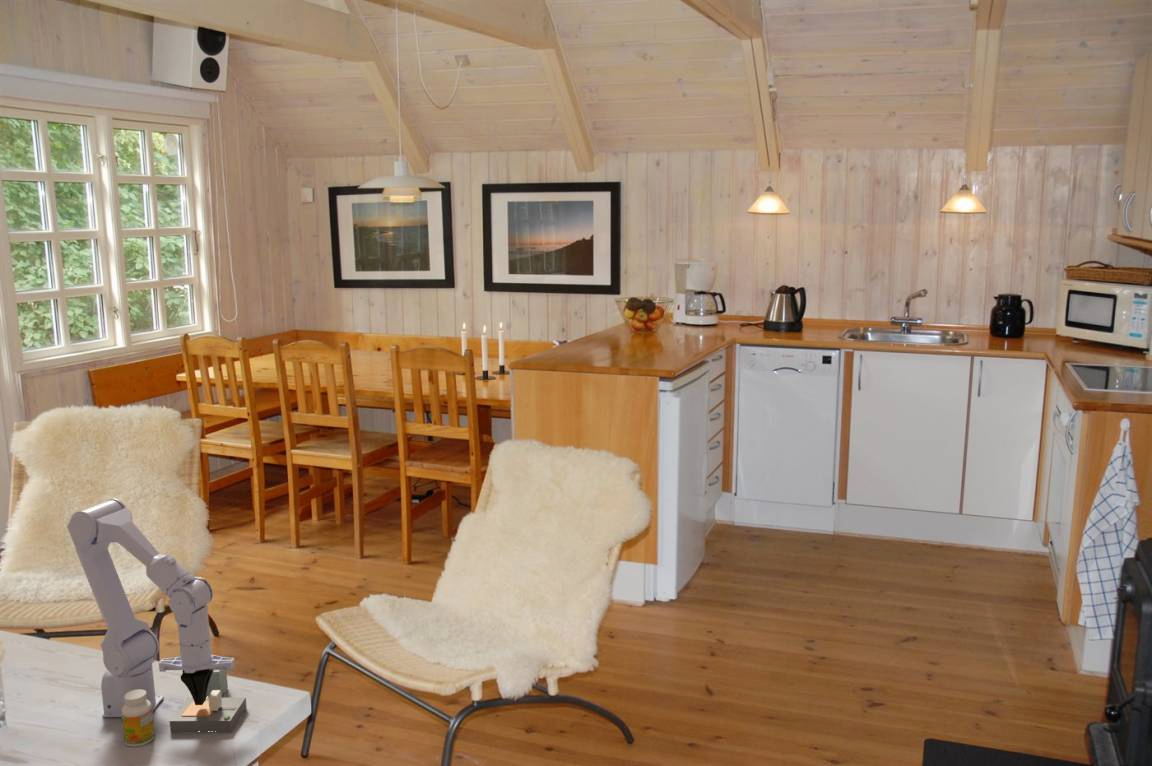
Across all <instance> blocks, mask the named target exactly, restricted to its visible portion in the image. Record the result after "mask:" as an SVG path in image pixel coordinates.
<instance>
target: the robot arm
mask: <svg viewBox="0 0 1152 766" xmlns="http://www.w3.org/2000/svg"><path fill="white" fill-rule="evenodd" d="M66 529H67V530H68V533H69V534H70V538H71V540H72V543H73V545H74V548H75V552H76V554H77V557H78V560H79V561H80V564H81V567H82V569H83V572H84V574H85V576H86V579H87V582H88V584H89V586H90V589H91V592H92V593H93V596H94V599H95V602H96V604H97V607H98V610H99V611H100V614H101V616H102V619H103V622H104V624H105V626H106V629H107V630H106V633H105V634H104V636H103V638H102V641H100V642H101V643H100V648H101V650H102V660H103V661H102V662H103V664H104V667H105V669H106V670H105V671H104V673H103V675H102V679H101V683H100V685H101V686H100V689H101V697H102V698H101V699H102V707H103V713H102V714H101V717H102V718H122V708H123V706H124V705H125V702H124V696H125V694H126V693H128V692H130V691H132V690H137V689H143V690H145V691H146V693H147V700H149V701H150V702H151V704H152V712H154V710H155V709H156V708H157V707H158V705H159V704H160V703H161V702H162V701H163V699H164V695H156V690H155V689H156V688H155V680H154V670H153V663H155V656H157V655H158V653H159V651H160V642H159V639H158V637H157V636H156V634H155V633H154V632H153V631H152V630H151V627H150V626H149V623H148V622H147V621H144V620H141V619H137V618H136V616H135V615H134V612H133V610H132V606H131V605H130V602H129V599H128V597H127V595H126V592H125V590H124V587H123V585H122V581H121V579H120V577H119V574H118V572H117V569H116V567H115V564H114V562H113V559H112V557H111V554H110V551H109V547H110V544H112V543H118V544H119V545H120V546H122V548H124V550H126V551H127V552H128V553H130V554H131V555H132V556H133V557H134V558H136V559H137V560H138V561H140V563H142V564H143V565H144V566H145V568H146V569H145V571H146V577H148V579H149V580H150V581H151V582H152V583H153V584H155V586H157V588H158V589H160V591H161V592H163V593H164V594H165V596H167V598H169V600H168V601H167V602H168V607H169V608H170V610H171V612H172V613H173V615H174V621H175V622H176V624H177V630H178V640H179V651H180V656H175V657H167V658H166V657H165V658H162V659H161V660H160V661H159V662H158V668H159V669H158V670H159V672H160V673H163V672H166V671H182V673H181V675H180V681H182V683H183V684H184V685H185V687H186V688H187V690H188V691H189V692H190V695H191V696H192V697H191V698H193V700H194V702H195V705H203V703H204V702H205V701H206V693H207V688H208V684H209V681H210V678H211V675H212V673H213V671H214V670H226V672H232V671H233V670H234V669H235V667H236V663H235V662H236V661H235V657H226V656H220V655H215V654H212V646H211V645H212V643H211V632H210V621H209V612H208V604H209V603H211V601H212V600H213V596H214V592H213V588H212V586H211V585H210V583H209V582H208V580H207V579H206V578H204V577H200V576H196V575H195V574H190V573H189V572H188V571H187V570H186V569H185V568H184V567H183V566H182V565H181V564H180V563H179V562H178V561H177V560H176V558H175V557H174V556H172V555H171V554H163V553H162V554H161V553H160V552H159V551H158V549H156V548H155V546H154V545H153V544H152V542H150V541H149V539H148V538H147V537H146V536H145V535H144V533H143V532H142V531H141V530H140V529H139V528H138V526H137V525H136V524H135V523H134V521H133V514H132V511H131V510H130V508H128V507H127V506H126V505H125V503H124V502H123V501H122V500H120V499H118V498H113V497H112V498H109V499H107V500H105V501H104V502H101V503H99V504H96V505H93V506H90V507H88V508H85V509H83V510H77V511H76V512H74V513H72V515H71V517H70V519H69V522H68V524H67V526H66Z"/></svg>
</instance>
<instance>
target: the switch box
mask: <svg viewBox="0 0 1152 766" xmlns="http://www.w3.org/2000/svg"><path fill="white" fill-rule="evenodd" d="M221 700H222V705H221V707H220V708H219V709H218V711H210V710H209V699H208V698H206V701H205V702H204V703H203V705H195V702H194V700H193V697H187V699H186V700H185V701H184V702H183V704H182V705H181V706H180V707H179V708H178V710H176V713H174V715H173V716H172V718H171V719H170V720H169V728H170V733H171V732H194V733H232V732H233V730H234V729H235V727H236V725H238V723H239V721H240V719H241V718H242V716H243V715H244V713H245V712H246V710H247V709H246V708H247V697H221ZM244 711H245V712H244ZM242 714H243V715H242ZM240 717H241V718H240ZM238 720H239V721H238ZM198 731H200V732H198ZM208 731H210V732H208ZM211 731H213V732H211ZM215 731H216V732H215ZM231 731H232V732H231Z"/></svg>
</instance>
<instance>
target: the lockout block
mask: <svg viewBox="0 0 1152 766" xmlns="http://www.w3.org/2000/svg"><path fill="white" fill-rule="evenodd" d="M227 672H228V671H227V670H214V671H213V673H212V675H211V678H210V681H209V684H208V688H207V693H206V697H207V696H209V695H210V693H211V692H212V691H213V690H221V696H222V695H223V693H224V692H225V691H226V692H227V690H228V689H229V686H228V674H227ZM227 688H228V689H227ZM226 689H227V690H226ZM226 692H225V693H226ZM225 693H224V694H225ZM223 696H224V695H223ZM223 696H222V697H223Z"/></svg>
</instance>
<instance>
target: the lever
mask: <svg viewBox="0 0 1152 766" xmlns="http://www.w3.org/2000/svg"><path fill="white" fill-rule="evenodd" d="M221 698H222V697H221V690H213V691H212V692H211V693H210V695H209V696H208V699H209V710H210V711H218V709H219V708H220V707H221V705H222V700H221Z"/></svg>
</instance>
